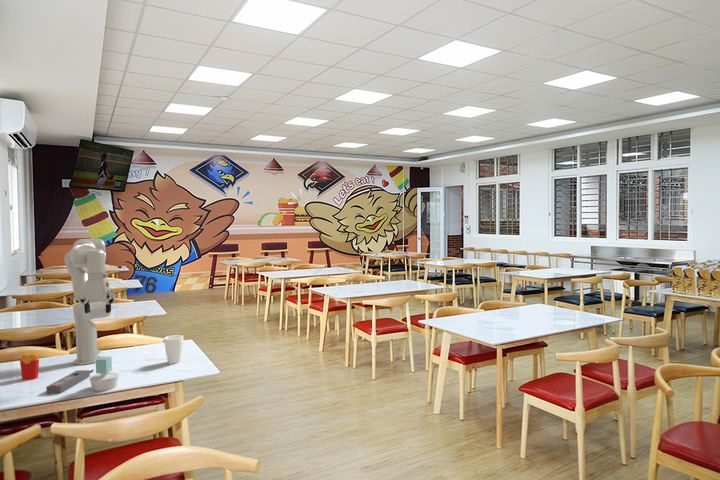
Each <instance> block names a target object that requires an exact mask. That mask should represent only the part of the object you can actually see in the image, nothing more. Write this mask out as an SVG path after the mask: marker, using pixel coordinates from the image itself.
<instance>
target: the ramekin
mask: <svg viewBox="0 0 720 480" xmlns="http://www.w3.org/2000/svg"><path fill="white" fill-rule="evenodd" d="M119 377H120V376H119V373H118V372H112V371H109V372H108V376H106V377H101V373H96V374H94V375H92V376H90V378H89V381H90V385H91V389H92V390H93V391H95V392H103V391H104V392H105V391H109V390H112V389H115V388H117V386H118V381H119Z"/></svg>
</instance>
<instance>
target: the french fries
mask: <svg viewBox="0 0 720 480" xmlns="http://www.w3.org/2000/svg"><path fill="white" fill-rule="evenodd" d="M39 356H40V353H38V352H35V351H33V352H26V353H25V352H24V353H21V354H20V360H19V365H20V372H21V378H22V381H23V380H25V381H28V380H36V379H38V378H39V365H40V359H39Z"/></svg>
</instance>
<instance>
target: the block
mask: <svg viewBox="0 0 720 480" xmlns="http://www.w3.org/2000/svg"><path fill="white" fill-rule="evenodd" d="M112 362H113V361H112V356H100V358H98V359H96V362H95V372H96V373H95V374H101V377H106V376H108V373H109V372H112V369H113V367H112V365H113V364H112Z"/></svg>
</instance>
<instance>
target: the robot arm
mask: <svg viewBox="0 0 720 480" xmlns="http://www.w3.org/2000/svg"><path fill="white" fill-rule="evenodd" d="M106 261H107V254H106V243H105V241H104V240H103V239H102V238H99V237H98V238H80V239H77V240H76V241H74V243H73V246H72V248H71V249H70V251H68V252H67V253H65V255H64V264H65V268H66V270H67V272H68V274H69V276H70V277H71V283H72V291H73V296H74V298H75V300H76V301H78V302H76V303H75V304H74V305H73V307H72V313H73V320H74V324H75V325H74V326H75V327H74V328H75V344H76V347H75V348H76V349H75V350H76V358H75V359H73V364H74V365H79V366H80V365H84V366H85V365H90V364H94V363H95V364H96V359H98V358H100V357H101V356H99V354H100V353H102V350H101V349H98V332H97V331H98V330H97V325H96V324H95V323H94V322H93V321H92V320H96V319H103V318H108V317H109V316H111V314H112V304H113V302H114V301H115V300H116V297H117V294H116V293H114V292H112V291H111V287H110V282H109V279H108V278H107V277H109V273H107V271H106ZM83 267H86V269H84V268H83Z"/></svg>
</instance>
